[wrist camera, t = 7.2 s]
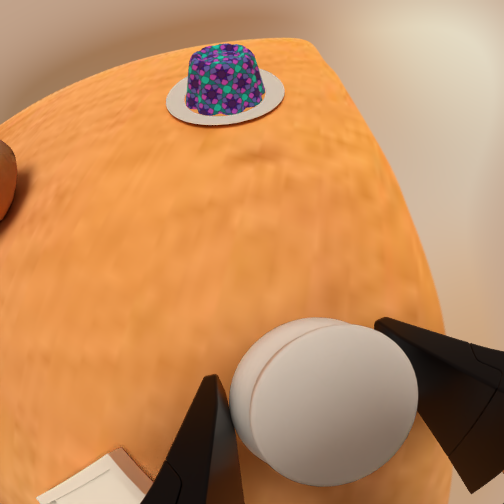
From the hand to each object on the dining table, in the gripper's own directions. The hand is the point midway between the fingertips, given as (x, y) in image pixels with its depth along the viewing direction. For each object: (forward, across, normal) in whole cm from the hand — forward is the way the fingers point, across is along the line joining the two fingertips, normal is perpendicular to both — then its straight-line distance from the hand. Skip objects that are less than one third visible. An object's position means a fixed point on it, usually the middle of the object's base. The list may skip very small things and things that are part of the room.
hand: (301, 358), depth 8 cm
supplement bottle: (+4, 0, +6) cm, 7 cm away
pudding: (+22, -2, -12) cm, 26 cm away
